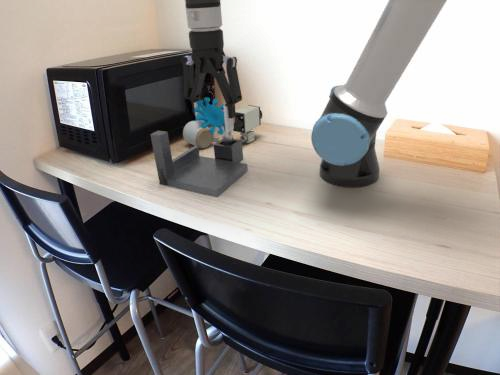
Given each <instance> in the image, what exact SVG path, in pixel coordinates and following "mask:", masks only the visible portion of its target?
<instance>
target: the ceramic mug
mask: <svg viewBox="0 0 500 375" xmlns="http://www.w3.org/2000/svg"><path fill="white" fill-rule="evenodd" d="M210 128H211V127H209V126H208V127H207V128H204V129H203V128H200V129H197V124H196V120H191V121H189V122H187V123H186V124H185V126H184V127H183V130H182V137H183V139H184V141H185V142H186V143H188V144H190V145H191V146H193V147H194V146H198V148H199V149H207V148H208V147H210V146H211V145H212V144H213V143H217V142H219V136H217V135H214V133H213V134H212V133H210V132H209V129H210Z"/></svg>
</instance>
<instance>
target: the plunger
mask: <svg viewBox="0 0 500 375" xmlns="http://www.w3.org/2000/svg"><path fill="white" fill-rule="evenodd" d="M233 123H235V117H234V118H233ZM222 129H223V131H224V126H223V125H222ZM233 137H234V136H233V130H232V131H230V132H229V133H227V132H225V131H224V133H223V134H222V135H221V140H222V141H223V145H228V146H231V145H232V144H233V139H234V138H233Z"/></svg>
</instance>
